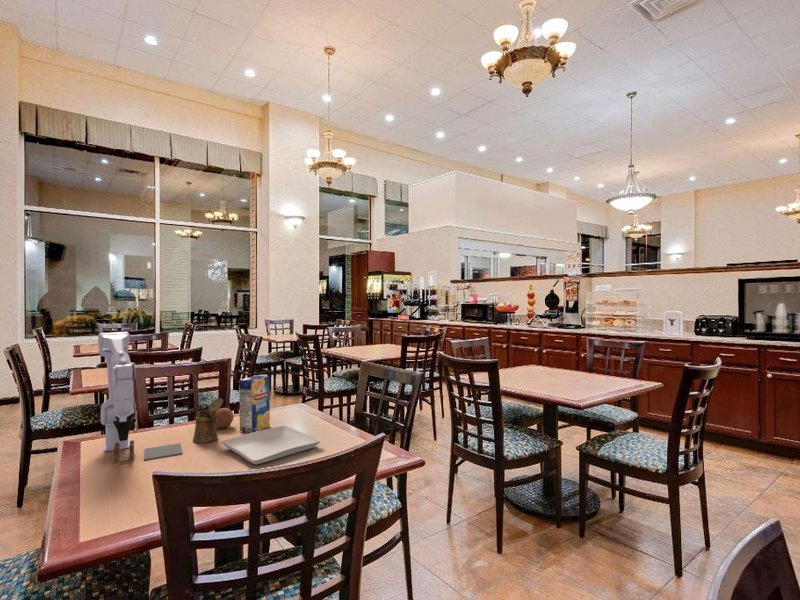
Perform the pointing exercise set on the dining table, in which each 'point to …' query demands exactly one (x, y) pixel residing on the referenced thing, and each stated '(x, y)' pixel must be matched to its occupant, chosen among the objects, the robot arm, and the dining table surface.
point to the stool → (126, 457)
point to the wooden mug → (207, 423)
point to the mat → (162, 451)
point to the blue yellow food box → (254, 403)
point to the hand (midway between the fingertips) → (124, 437)
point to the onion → (224, 418)
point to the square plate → (270, 444)
